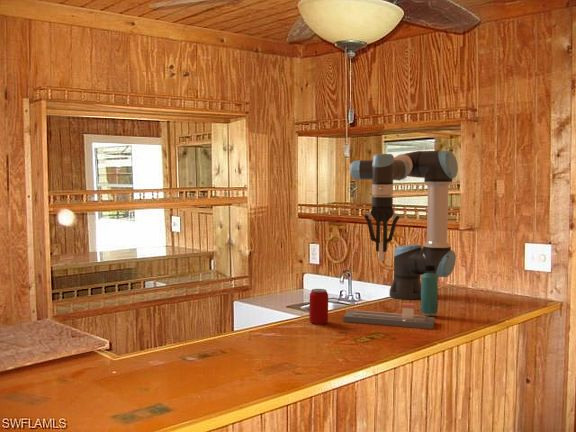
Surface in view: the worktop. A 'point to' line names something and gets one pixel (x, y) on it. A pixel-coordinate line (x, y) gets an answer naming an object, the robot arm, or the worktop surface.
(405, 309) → the fader tab
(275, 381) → the worktop surface
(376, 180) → the robot arm
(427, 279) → the beverage bottle
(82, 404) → the worktop surface
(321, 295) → the beverage can
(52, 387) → the worktop surface
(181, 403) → the worktop surface
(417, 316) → the board
